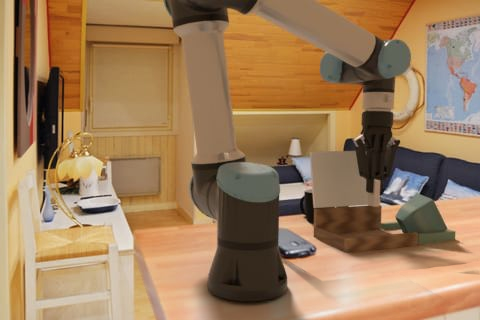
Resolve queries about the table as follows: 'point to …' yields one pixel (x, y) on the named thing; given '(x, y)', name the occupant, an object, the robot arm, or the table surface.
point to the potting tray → (425, 234)
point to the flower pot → (420, 216)
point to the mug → (308, 205)
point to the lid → (337, 179)
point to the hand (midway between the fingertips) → (373, 205)
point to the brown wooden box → (356, 229)
